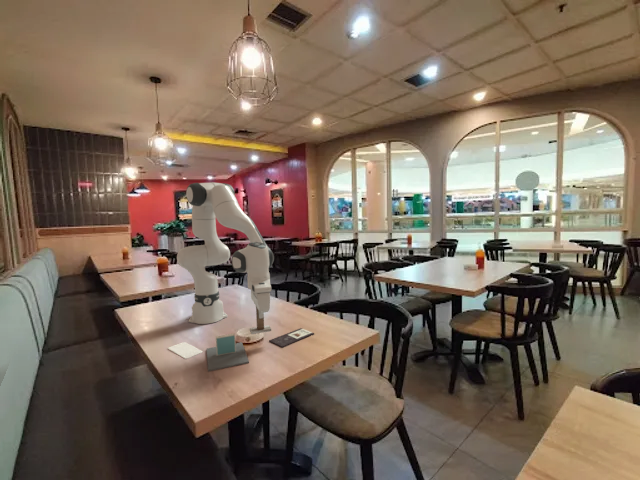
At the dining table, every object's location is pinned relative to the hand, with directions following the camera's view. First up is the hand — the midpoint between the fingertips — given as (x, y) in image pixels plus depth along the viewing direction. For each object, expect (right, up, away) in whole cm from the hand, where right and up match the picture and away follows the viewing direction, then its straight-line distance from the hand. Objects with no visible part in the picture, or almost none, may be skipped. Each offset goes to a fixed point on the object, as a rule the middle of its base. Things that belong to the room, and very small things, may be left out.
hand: (260, 316), depth 122 cm
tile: (-12, -9, -6) cm, 16 cm away
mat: (-12, -14, -7) cm, 19 cm away
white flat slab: (-30, -14, -1) cm, 33 cm away
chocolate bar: (+12, -12, +9) cm, 20 cm away
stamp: (0, -6, +1) cm, 6 cm away
